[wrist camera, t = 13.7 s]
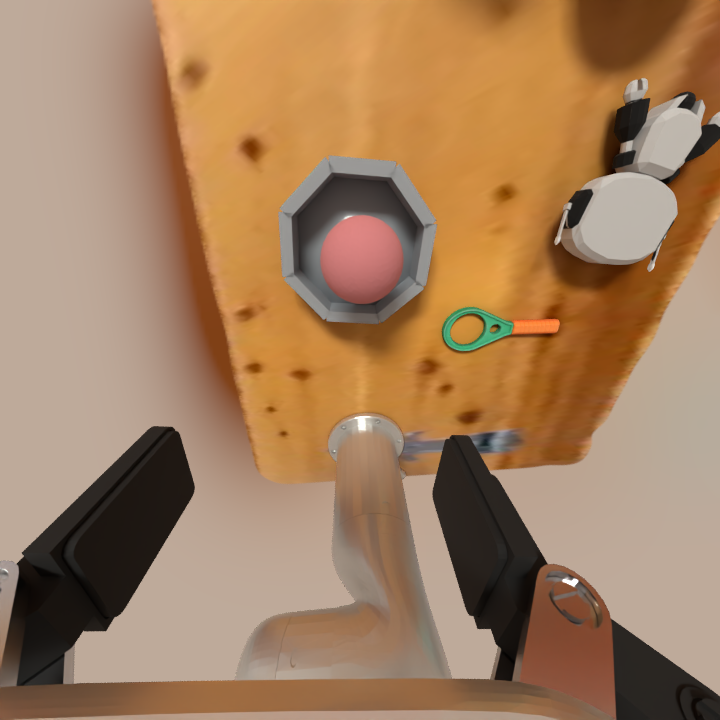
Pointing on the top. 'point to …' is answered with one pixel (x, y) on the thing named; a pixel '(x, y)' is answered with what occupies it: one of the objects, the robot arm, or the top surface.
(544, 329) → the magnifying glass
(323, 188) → the ceramic bowl
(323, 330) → the top surface
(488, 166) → the top surface
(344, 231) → the light bulb
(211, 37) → the top surface
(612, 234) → the robot toy
